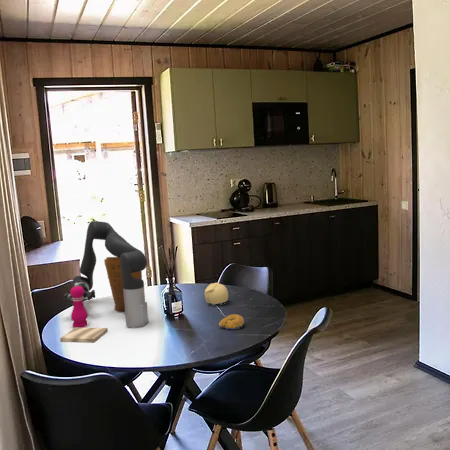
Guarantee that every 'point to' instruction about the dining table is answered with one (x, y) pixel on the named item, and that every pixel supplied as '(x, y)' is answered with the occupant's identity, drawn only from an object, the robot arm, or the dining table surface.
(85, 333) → the birch board
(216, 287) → the tan round lump
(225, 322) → the bagel
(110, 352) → the dining table surface
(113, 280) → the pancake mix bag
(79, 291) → the pepper mill
